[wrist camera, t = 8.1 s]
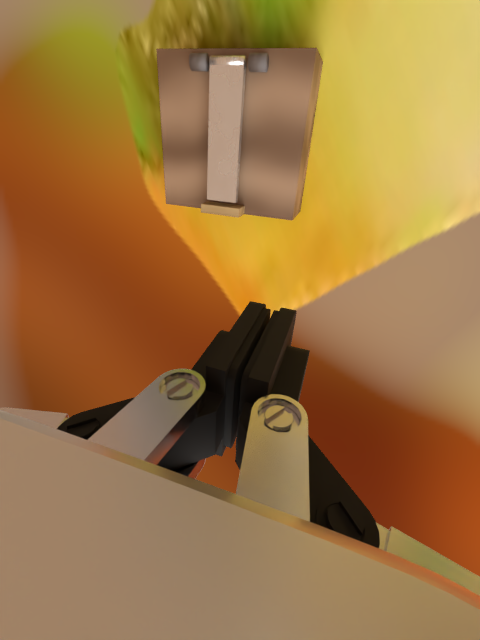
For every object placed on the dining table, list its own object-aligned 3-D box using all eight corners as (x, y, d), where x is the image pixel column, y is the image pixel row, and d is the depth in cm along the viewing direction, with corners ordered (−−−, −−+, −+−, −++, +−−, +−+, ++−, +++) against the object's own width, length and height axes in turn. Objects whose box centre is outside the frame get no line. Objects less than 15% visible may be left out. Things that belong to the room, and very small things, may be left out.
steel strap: (213, 57, 26) (209, 54, 25) (247, 57, 25) (244, 54, 25) (209, 198, 31) (206, 199, 31) (237, 202, 31) (235, 203, 30)
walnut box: (183, 61, 31) (144, 43, 26) (322, 61, 28) (313, 41, 22) (186, 197, 38) (157, 206, 32) (300, 211, 35) (289, 224, 29)
